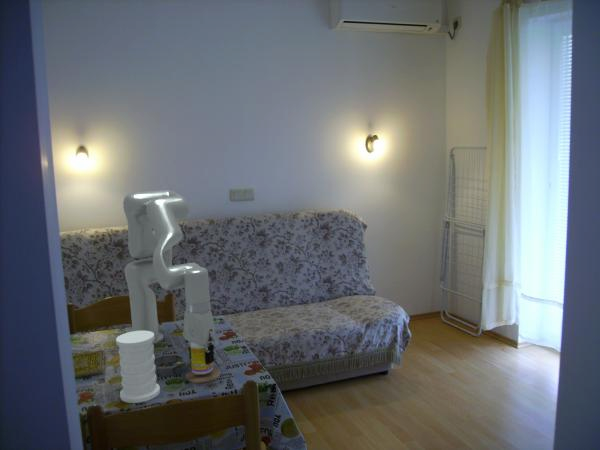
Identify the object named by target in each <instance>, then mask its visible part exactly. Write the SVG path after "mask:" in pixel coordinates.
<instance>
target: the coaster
mask: <svg viewBox="0 0 600 450" xmlns="http://www.w3.org/2000/svg"><path fill="white" fill-rule="evenodd" d="M220 376H221V370H220V369H218V368H216V367H213V369H212V371H211V372H209V373H207V374H202V375H199V374H194V373H193V372H192V370H189V372H187V373H186V374H185V379H186V381H187V382H189V383H193V384H206V383H211V382H213V381H216V380H218V379H219V378H220Z"/></svg>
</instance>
